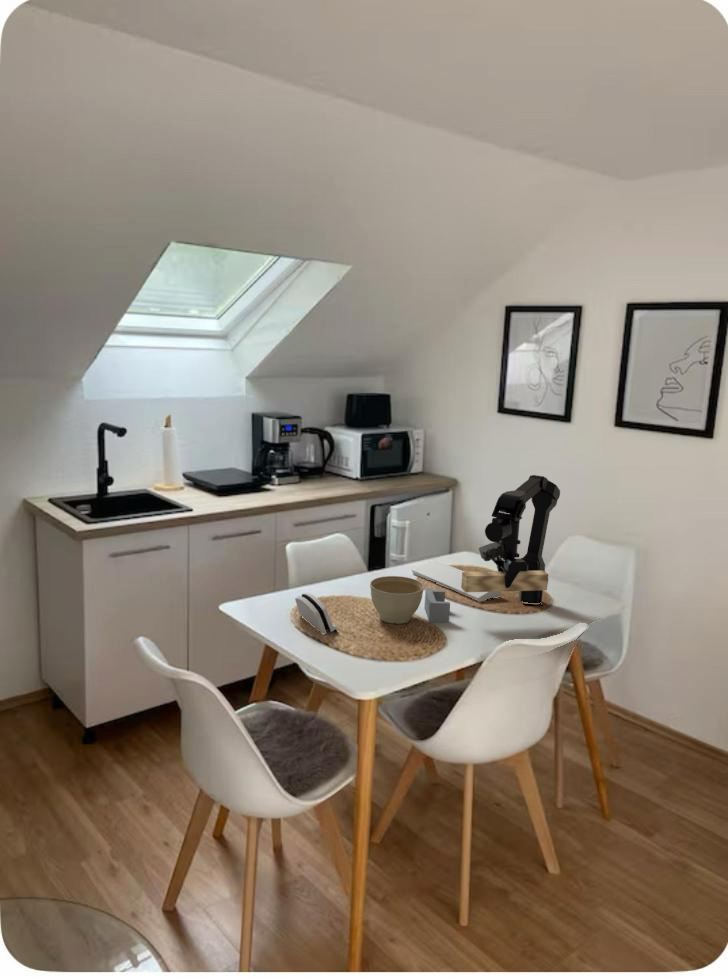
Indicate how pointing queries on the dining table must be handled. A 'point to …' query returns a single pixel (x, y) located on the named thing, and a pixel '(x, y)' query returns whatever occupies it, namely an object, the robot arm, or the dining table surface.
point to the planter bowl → (396, 597)
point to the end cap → (436, 606)
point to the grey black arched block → (314, 612)
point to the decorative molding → (449, 578)
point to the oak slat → (503, 581)
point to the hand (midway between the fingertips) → (504, 585)
